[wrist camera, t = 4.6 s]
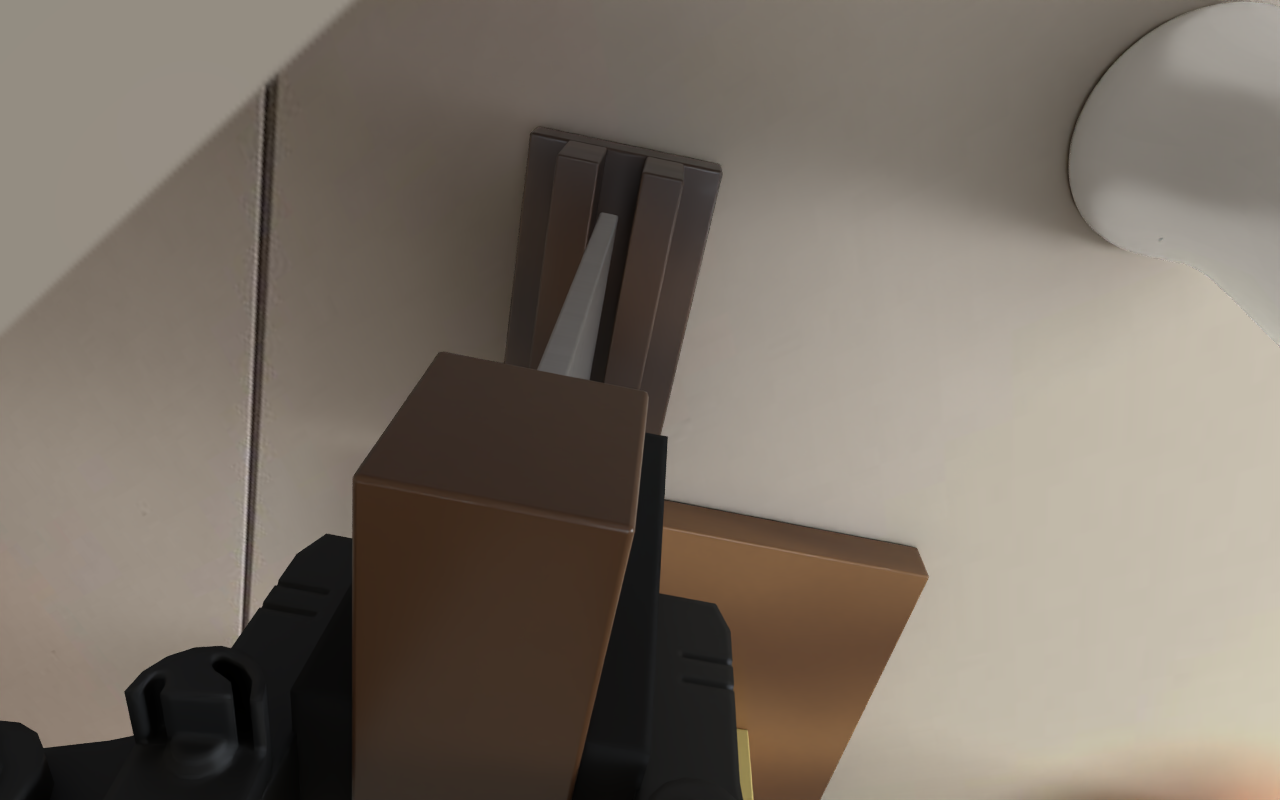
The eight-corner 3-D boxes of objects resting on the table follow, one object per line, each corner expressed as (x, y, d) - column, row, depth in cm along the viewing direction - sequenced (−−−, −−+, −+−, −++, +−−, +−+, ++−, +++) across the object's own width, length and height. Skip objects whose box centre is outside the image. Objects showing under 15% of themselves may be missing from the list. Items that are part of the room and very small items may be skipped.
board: (452, 458, 25) (438, 484, 24) (917, 547, 26) (929, 576, 24) (419, 845, 35) (409, 878, 34) (751, 901, 36) (754, 936, 35)
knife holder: (537, 125, 20) (513, 144, 17) (721, 164, 20) (727, 189, 17) (499, 442, 25) (476, 495, 22) (649, 470, 25) (645, 527, 22)
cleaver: (557, 178, 16) (349, 475, 6) (669, 201, 16) (636, 529, 6) (513, 513, 20) (349, 995, 11) (600, 530, 20) (518, 1023, 11)
